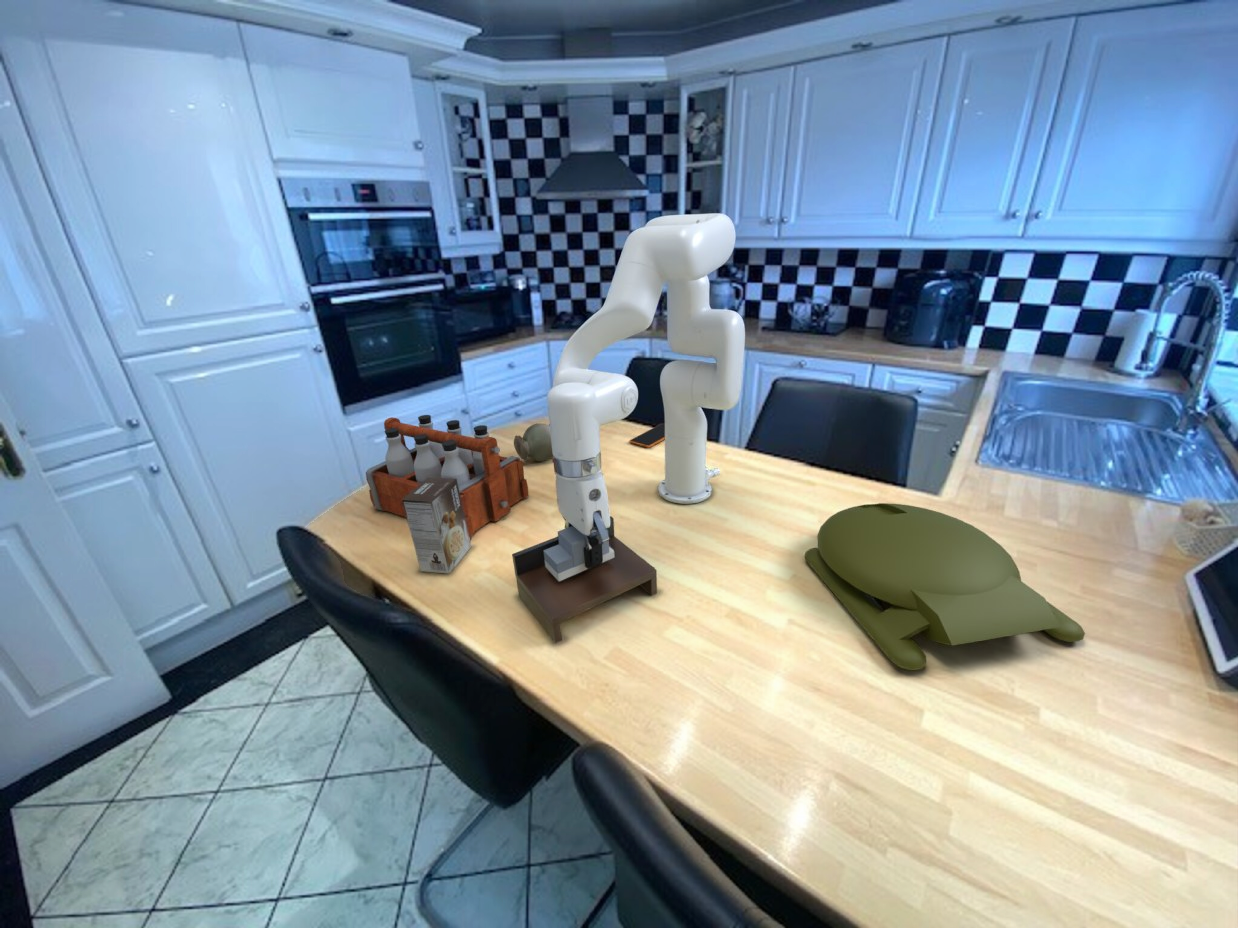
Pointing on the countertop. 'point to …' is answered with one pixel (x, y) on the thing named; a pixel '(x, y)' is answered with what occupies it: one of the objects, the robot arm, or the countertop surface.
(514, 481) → the milk bottle holder
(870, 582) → the spaceship
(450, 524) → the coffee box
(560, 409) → the robot arm
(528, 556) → the shelf rack
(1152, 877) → the countertop surface
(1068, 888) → the countertop surface
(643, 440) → the smartphone
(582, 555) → the stepped grey block
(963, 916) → the countertop surface
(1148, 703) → the countertop surface
